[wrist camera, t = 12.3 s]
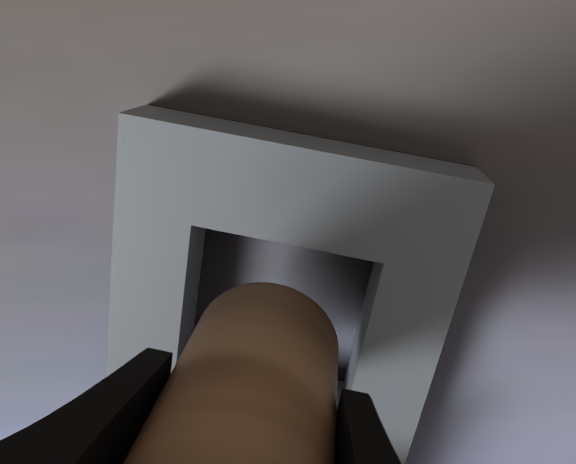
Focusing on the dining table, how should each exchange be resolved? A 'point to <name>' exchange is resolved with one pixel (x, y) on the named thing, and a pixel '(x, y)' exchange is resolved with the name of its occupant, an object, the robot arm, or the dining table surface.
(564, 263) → the dining table surface
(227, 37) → the dining table surface
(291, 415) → the pin
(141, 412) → the robot arm
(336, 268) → the dining table surface
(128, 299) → the grey flat frame
